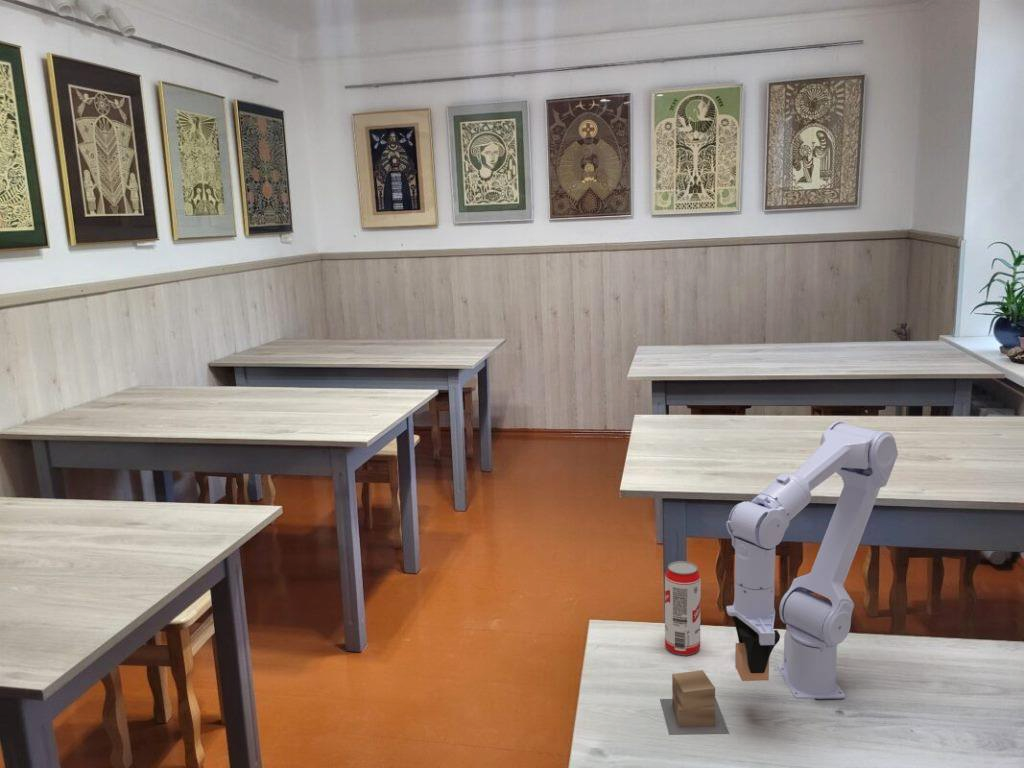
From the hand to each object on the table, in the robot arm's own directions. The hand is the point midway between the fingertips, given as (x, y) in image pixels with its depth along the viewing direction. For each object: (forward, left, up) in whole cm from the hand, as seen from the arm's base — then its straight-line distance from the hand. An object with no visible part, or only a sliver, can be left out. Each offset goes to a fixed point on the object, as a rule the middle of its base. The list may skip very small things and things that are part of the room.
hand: (752, 663), depth 119 cm
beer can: (-20, -7, -9) cm, 23 cm away
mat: (0, -9, -9) cm, 13 cm away
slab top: (0, -9, -6) cm, 11 cm away
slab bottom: (0, -9, -9) cm, 13 cm away
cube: (0, 0, -2) cm, 2 cm away
